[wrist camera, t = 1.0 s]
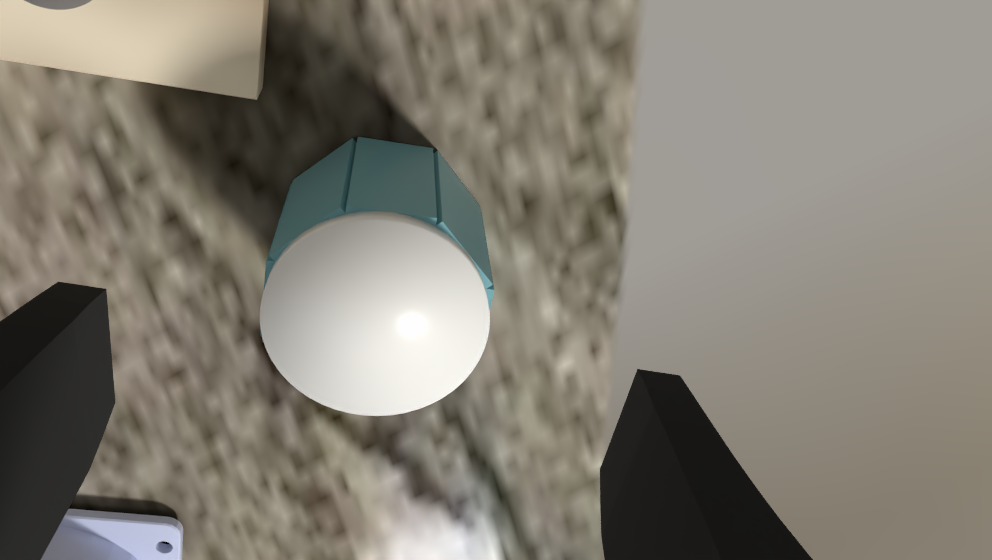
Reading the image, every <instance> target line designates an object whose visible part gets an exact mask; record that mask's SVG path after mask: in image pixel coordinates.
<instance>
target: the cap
mask: <svg viewBox="0 0 992 560" xmlns="http://www.w3.org/2000/svg"><path fill="white" fill-rule="evenodd" d="M493 293H494V285H493V279H492V273H491V267H490V261H489V255H488V249H487V243H486V237H485V231H484V225H483V219H482V212H481V208H480V206H479V204H478V203H477V202H476V200H475V199H474V198H473V196H472V195H471V194H470V192H469V191H468V190H467V189H466V187H465V186H464V185H463V183H462V182H461V181H460V179H459V178H458V177H457V175H456V174H455V173H454V172H453V170H452V169H451V168H450V166H449V165H448V164H447V162H446V161H445V160H444V158H443V157H442V156H441V155H440V153H439V152H438V151H437V152H435V153H434V154H433V148H429V147H422V146H416V145H409V144H403V143H396V142H390V141H383V140H377V139H370V138H364V137H358V138H357V143H356V142H355V140H354V139H353V138H351V139H350V140H349V141H347V142H346V143H344V144H343V145H342V146H340V147H339V148H337V149H336V150H334V151H333V152H332V153H330V154H329V155H327V156H326V157H325V158H323V159H322V160H320V161H319V162H317V163H316V164H315V165H313V166H312V167H310V168H309V169H308V170H306V171H305V172H303V173H302V174H300V175H299V176H298V177H296V178H295V179H293V182H292V184H291V185H290V188H289V191H288V194H287V197H286V200H285V203H284V207H283V210H282V213H281V216H280V219H279V222H278V225H277V229H276V232H275V235H274V238H273V241H272V244H271V247H270V251H269V254H268V257H267V260H266V271H265V284H264V292H263V296H262V300H261V307H260V327H261V334H260V336H262V338H263V340H262V341H263V342H264V344H265V347H266V350H267V352H268V354H269V356H270V358H271V360H272V361H273V363H274V364H275V366H276V367H277V369H278V370H279V372H280V373H281V374H282V375H283V376H284V377H285V378H286V380H287V381H288V382H289V383H291V384H292V385H293V386H294V387H295V388H296V389H297V390H299V391H300V392H302V393H303V394H305V395H306V396H308V397H309V398H311V399H313V400H315V401H317V402H318V403H320V404H322V405H325V406H328V407H330V408H333V409H335V410H339V411H343V412H347V413H352V414H358V415H369V416H384V415H395V414H401V413H406V412H410V411H414V410H417V409H420V408H423V407H425V406H428V405H430V404H432V403H434V402H436V401H438V400H440V399H442V398H443V397H445V396H446V395H448V394H449V393H450V392H452V391H453V390H455V389H456V388H457V387H458V386H459V385H460V384H461V383H462V382H463V381H464V380H465V379H466V378H467V377H468V376H469V375H470V373H471V372H472V371H473V369H474V368H475V366H476V365H477V363H478V362H479V360H480V358H481V355H482V353H483V351H484V349H485V345H486V342H487V339H488V333H489V326H490V307H491V302H492V298H493Z"/></svg>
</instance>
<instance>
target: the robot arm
mask: <svg viewBox="0 0 992 560" xmlns="http://www.w3.org/2000/svg"><path fill="white" fill-rule="evenodd" d="M114 404H115V393H114V381H113V368H112V356H111V343H110V331H109V318H108V305H107V293H106V289H103V288H96V287H89V286H83V285H76V284H70V283H63V282H57V283H56V284H54V285H53V286H51V287H50V288H48V289H47V290H45V291H44V292H42V293H41V294H39V295H38V296H36V297H35V298H33V299H32V300H31V301H29V302H28V303H26V304H25V305H23V306H22V307H20V308H19V309H17V310H16V311H15V312H13V313H12V314H10V315H9V316H7V317H6V318H4V319H3V320H2V321H0V560H182V544H183V527H182V524H181V523H180V522H179V521H178V520H176V519H174V518H171V517H166V516H154V515H142V514H129V513H117V512H105V511H93V510H80V509H69V507H70V505H71V503H72V501H73V500H74V498H75V496H76V494H77V492H78V490H79V488H80V487H81V485H82V483H83V481H84V479H85V477H86V475H87V473H88V471H89V469H90V467H91V464H92V462H93V459H94V457H95V454H96V452H97V449H98V447H99V444H100V442H101V439H102V437H103V434H104V431H105V429H106V426H107V423H108V421H109V418H110V415H111V413H112V410H113V407H114ZM600 503H601V534H602V543H603V550H604V557H605V560H813V559H812V558H811V557H810V556H809V555H808V554H807V552H806V551H805V550H804V549H803V547H802V546H801V545H800V544H799V542H798V541H797V540H796V539H795V537H794V536H793V535H792V534H791V532H790V531H789V530H788V529H787V528H786V526H785V525H784V524H783V522H782V521H781V520H780V519H779V517H778V516H777V515H776V513H775V512H774V511H773V509H772V508H771V507H770V506H769V504H768V503H767V502H766V500H765V499H764V498H763V496H762V495H761V493H760V492H759V491H758V490H757V488H756V487H755V485H754V484H753V483H752V481H751V480H750V478H749V477H748V476H747V474H746V473H745V471H744V470H743V469H742V467H741V466H740V464H739V463H738V461H737V460H736V459H735V457H734V456H733V454H732V453H731V451H730V450H729V448H728V447H727V446H726V444H725V442H724V441H723V439H722V438H721V437H720V435H719V433H718V432H717V431H716V429H715V428H714V426H713V425H712V423H711V422H710V420H709V419H708V417H707V416H706V414H705V413H704V411H703V409H702V408H701V407H700V405H699V403H698V402H697V400H696V399H695V397H694V396H693V395H692V393H691V391H690V390H689V388H688V387H687V385H686V384H685V383H684V381H683V380H682V378H681V377H680V376H679V375H672V374H666V373H660V372H652V371H646V370H640V369H637V372H636V375H635V377H634V380H633V383H632V386H631V388H630V391H629V394H628V396H627V399H626V402H625V404H624V407H623V410H622V412H621V415H620V418H619V420H618V423H617V426H616V428H615V431H614V434H613V436H612V439H611V442H610V444H609V447H608V450H607V452H606V455H605V458H604V460H603V463H602V466H601V468H600ZM162 541H165V542H169V543H170V544H164V543H162Z"/></svg>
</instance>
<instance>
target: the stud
mask: <svg viewBox="0 0 992 560" xmlns="http://www.w3.org/2000/svg"><path fill="white" fill-rule="evenodd" d="M268 7H269V0H0V60H7V61H13V62H19V63H26V64H32V65H39V66H45V67H51V68H58V69H64V70H70V71H77V72H83V73H90V74H96V75H102V76H109V77H115V78H121V79H128V80H134V81H141V82H147V83H153V84H160V85H166V86H173V87H179V88H185V89H192V90H198V91H204V92H211V93H217V94H224V95H230V96H236V97H243V98H249V99H255V100H257V98H258V96H259V94H260V92H261V90H262V89H263V78H264V64H265V50H266V35H267V21H268Z"/></svg>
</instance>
